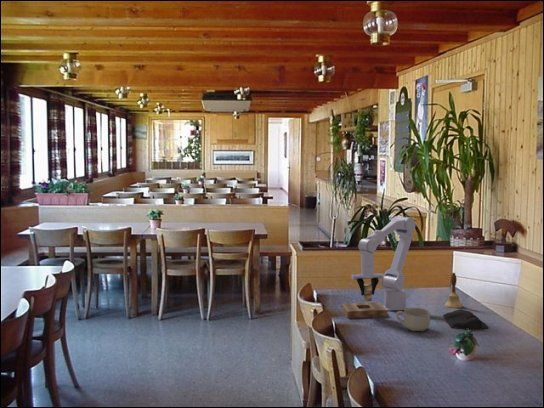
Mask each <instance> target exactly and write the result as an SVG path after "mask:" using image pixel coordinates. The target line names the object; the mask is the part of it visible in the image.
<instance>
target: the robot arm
mask: <svg viewBox="0 0 544 408" xmlns="http://www.w3.org/2000/svg"><path fill="white" fill-rule="evenodd" d="M416 226H417V224H416V222H415V219H414V218H413V217H411V216H410V217H409V216H408V217H407V216H400V215H395V216H394V217H392V218H391V219H390V222H389V223H387V224H386V225H385V226H383V228H382V229H381V230H380V229H375V230H374V231H373V233H371V234H370V235H368V236H367V237H366V238H362V239H360V240H359V242H358V245H357V248H358V250H359V253H360V273H358V274H351V280H352V281H355V280H356V282H357V283H358V286H359V287H358V288H359V289H360V290H359V291H360V294H361V296H364V284H365V281H364V280H370V285H372V296H374V295H375V291H376V288H377V285H378V284H379V283H380V284H381V286H382V287H383V290H384V305H383V306H384V307H385V309H386V310H387V312H388V311H390V312H391V311H404V310H405V309H407V308H406V307H407V306H406V302H407V301H406V300H407V298H406V296H407V295H406V290H404V289H403V288H404V286H405V278H406V276H405V275H404V273H403V268H404V265H405V262H406V258H407V256H408V253H409V249H410V247H411V243H412V239H413V235H414V232H415V229H416ZM393 232H396V234H397V235H398V237H399V239H398V243H397V246H396V249H395V252H394V256H393V259H392V262H391V266H390V268H388V269H387V270H385V272H384V273H375V268H374V267H375V258H374V257H375V252H376V250H377V247H379V245H380V244H381V243H383V242H385V240H386V237H387V236H389V234H391V233H393ZM379 281H380V282H379Z"/></svg>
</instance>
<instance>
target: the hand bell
mask: <svg viewBox="0 0 544 408" xmlns="http://www.w3.org/2000/svg"><path fill="white" fill-rule="evenodd" d="M450 284H451V293H449V294H448V300H447V301H446V302H445V304H444V307H446V308H451V309H459V308H463V307H464V305H463V303H461V301H460V296H459V294H458V293H456V286H457V275H456V272H452V273H451V276H450Z"/></svg>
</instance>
